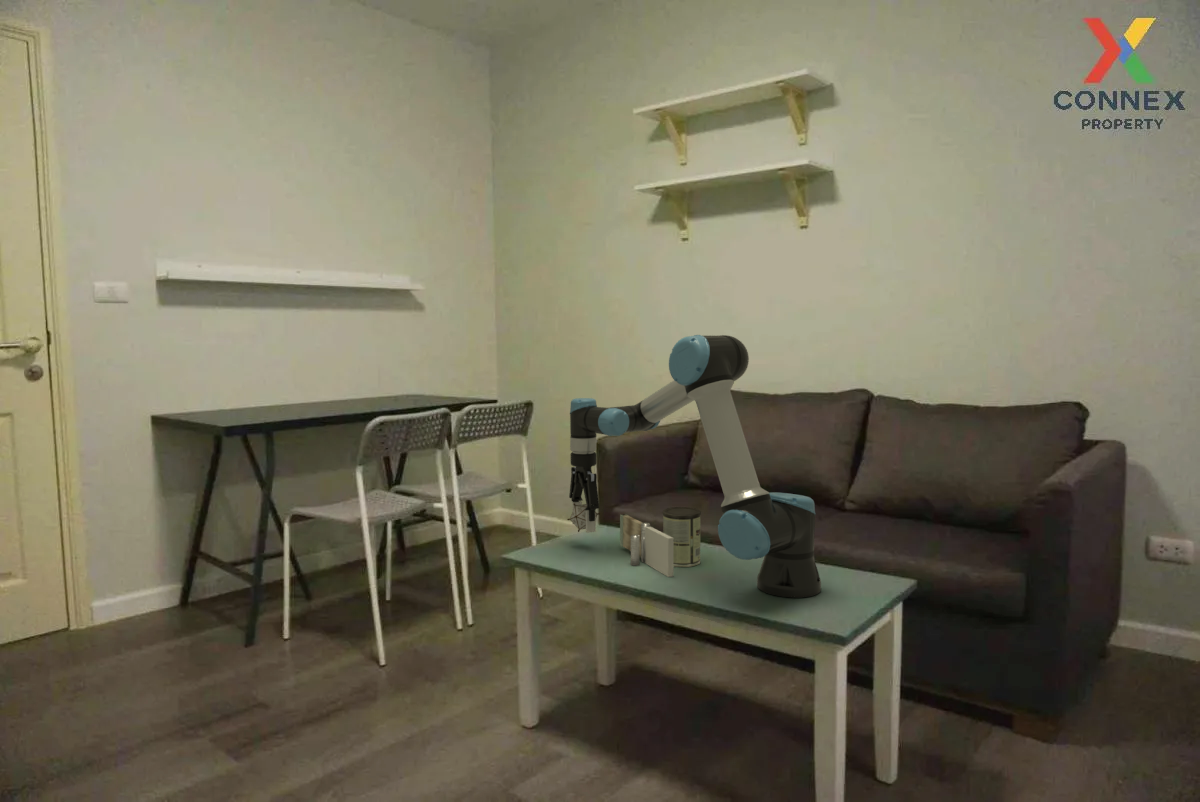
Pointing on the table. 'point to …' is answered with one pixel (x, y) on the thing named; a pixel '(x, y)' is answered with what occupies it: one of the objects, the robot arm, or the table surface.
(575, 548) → the table surface
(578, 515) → the game die
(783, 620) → the table surface
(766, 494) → the robot arm
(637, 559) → the peg
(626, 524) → the gate
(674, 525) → the coffee can
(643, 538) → the gate post
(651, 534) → the light grey flat panel
